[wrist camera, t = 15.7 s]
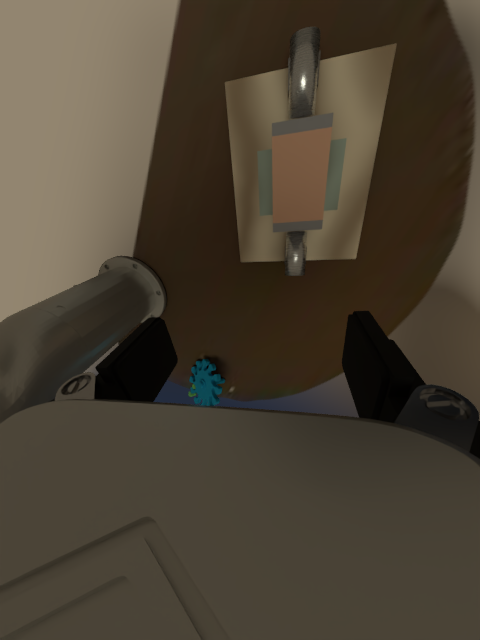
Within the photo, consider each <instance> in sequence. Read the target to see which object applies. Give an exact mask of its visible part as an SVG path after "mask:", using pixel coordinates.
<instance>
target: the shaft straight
mask: <svg viewBox="0 0 480 640" xmlns="http://www.w3.org/2000/svg"><path fill="white" fill-rule="evenodd" d="M319 47H320V29H319V28H317V27H307V28H303V29H301V30H299V31H297V32H296V33H294V34H293V35H292V37H291V39H290V72H289V118H288V120H294V119H299V118H305V117H311V116H315V106H316V91H317V76H318V62H319Z"/></svg>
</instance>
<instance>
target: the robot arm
mask: <svg viewBox="0 0 480 640" xmlns="http://www.w3.org/2000/svg"><path fill="white" fill-rule="evenodd" d="M166 302H167V300H166V293H165V289H164V287H163V284H162V282H161V281H160V279H159V278H158V276H157V275H156V274H155V273H154V271H153V270H152V269H150V268H149V267H148V266H147V265H146V264H144V263H143V262H141V261H139V260H137V259H135V258H132V257H128V256H117V257H113V258H111V259H109V260H107V261H105V262H104V263H103V264H102V266H101V268H100V270H99V274H98V276H96V277H94V278H92V279H90V280H88V281H85V282H83V283H81V284H79V285H75V286H73V287H72V288H70V289H68V290H66V291H63V292H61V293H59V294H57V295H55V296H52V297H50V298H48V299H46V300H44V301H42V302H40V303H37V304H35V305H33V306H31V307H28V308H26V309H24V310H21V311H19V312H18V313H15V314H13V315H11V316H9V317H7V318H6V319H4V320H3V321H2V322H0V640H480V421H479V412H478V410H477V409H476V407H475V406H474V405H473V404H472V403H471V402H470V401H469V400H468V399H467V398H465V397H464V396H462V395H461V394H459V393H457V392H455V391H453V390H451V389H449V388H445V387H442V386H438V385H432V384H431V385H426V384H425V383H424V381H423V380H422V378H421V377H420V376H419V374H418V373H417V372H416V370H415V369H414V368H413V366H412V365H411V364H410V362H409V361H408V359H407V358H406V357H405V355H404V354H403V353H402V351H401V350H400V348H399V347H398V346H397V345H396V343H395V342H394V341H393V340H389V339H388V338H387V336H386V335H385V333H384V332H383V330H382V329H381V328H380V326H379V325H378V323H377V322H376V320H375V319H374V318H373V316H372V315H371V313H370V312H369V311H354V312H353V315H349V316H348V322H347V329H346V336H345V343H344V350H343V357H342V366H343V370H344V373H345V376H346V379H347V382H348V385H349V388H350V390H351V393H352V397H353V400H354V403H355V406H356V409H357V412H358V415H359V418H357V417H349V416H338V415H328V414H316V413H304V412H290V411H277V410H264V409H249V408H236V407H221V406H207V405H191V404H176V403H159V402H153V401H154V400H155V398H156V397H157V395H158V393H159V392H160V390H161V389H162V387H163V385H164V384H165V382H166V380H167V379H168V377H169V376H170V374H171V372H172V371H173V369H174V367H175V366H176V364H177V361H178V358H177V355H176V352H175V349H174V346H173V344H172V341H171V338H170V335H169V333H168V330H167V327H166V324H165V322H164V320H162V319H161V318H160V317H159V316H161V314H162V313H163V312H164V310H165V307H166ZM139 323H142V324H141V325H140V326H139V327H138V328H137V329H136V330H135V331H134V332H133V333H132V334H130V335H129V336H128V337H127V338H126V339H125V340H124V341H123V342H122V343H121V344H120V345H119V346H118V347H117V348H116V349H115V350H114V351H112V352H111V353H110V355H108V356H107V357H106V358H105V359H104V360H103V361H102V362H101V363H100V364H99V365H97V366H96V370H97V371H98V373H99V374H98V375H97V376H95V374H93V373H91V372H87V373H83V372H85V370H87V369H88V368H89V367H90V366H91V365H92V364H94V363H95V362H96V361H97V360H98V359H99V358H100V357H101V356H102V355H104V354H105V353H106V352H107V351H108V350H109V349H110V348H112V347H113V346H114V345H115V344H116V343H117V342H118V341H120V340H121V339H122V338H123V337H124V336H125V335H126V334H127V333H129V332H130V331H131V330H132V329H133V328H134V327H135V326H136V325H138V324H139Z"/></svg>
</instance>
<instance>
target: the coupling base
mask: <svg viewBox="0 0 480 640" xmlns="http://www.w3.org/2000/svg"><path fill="white" fill-rule="evenodd" d="M396 45H397V43H396V44H392V45H387V46H383V47H378V48H374V49H369V50H365V51H361V52H356V53H352V54H347V55H343V56H338V57H334V58H330V59H325V60H321V61H320V52H321V50H320V51H319V62H318V76H317V91H316V106H315V116H316V115H322V114H328V113H333V123H332V133H331V143H330V153H329V163H328V173H327V183H326V194H325V204H324V214H323V224H322V229H319V230H303V231H307V239H306V258H305V264H306V260H332V259H356V255H357V250H358V245H359V239H360V234H361V229H362V224H363V218H364V213H365V208H366V203H367V197H368V192H369V187H370V181H371V176H372V171H373V166H374V160H375V155H376V150H377V145H378V139H379V134H380V129H381V124H382V118H383V113H384V108H385V102H386V97H387V92H388V87H389V81H390V76H391V71H392V66H393V60H394V55H395V50H396ZM289 72H290V58H289V59H288V68H285V69H281V70H277V71H272V72H268V73H263V74H259V75H255V76H250V77H246V78H241V79H237V80H232V81H228V82H225V90H226V101H227V113H228V124H229V135H230V146H231V158H232V169H233V180H234V192H235V203H236V214H237V226H238V237H239V248H240V260H241V262H264V261H285V259H286V233H287V232H294V231H287V232H273V188H272V123H276V122H282V121H288V118H289Z"/></svg>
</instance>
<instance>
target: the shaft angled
mask: <svg viewBox="0 0 480 640" xmlns="http://www.w3.org/2000/svg"><path fill="white" fill-rule="evenodd" d="M306 239H307V231H294V232H287V233H286V259H285V275H288V276H299V275H305V258H306Z"/></svg>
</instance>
